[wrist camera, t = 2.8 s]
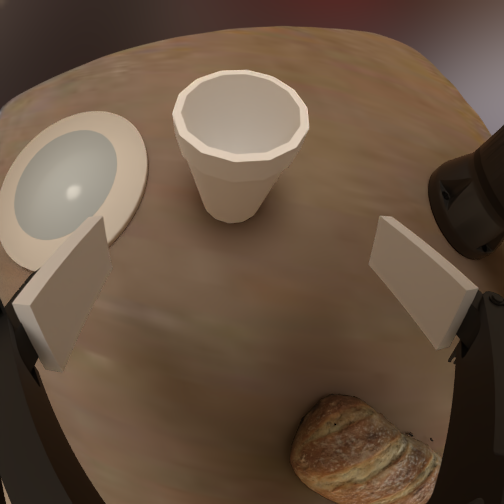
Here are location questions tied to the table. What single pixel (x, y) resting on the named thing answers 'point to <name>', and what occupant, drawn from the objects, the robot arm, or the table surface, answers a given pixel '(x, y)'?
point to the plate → (71, 184)
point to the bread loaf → (361, 456)
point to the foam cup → (238, 138)
